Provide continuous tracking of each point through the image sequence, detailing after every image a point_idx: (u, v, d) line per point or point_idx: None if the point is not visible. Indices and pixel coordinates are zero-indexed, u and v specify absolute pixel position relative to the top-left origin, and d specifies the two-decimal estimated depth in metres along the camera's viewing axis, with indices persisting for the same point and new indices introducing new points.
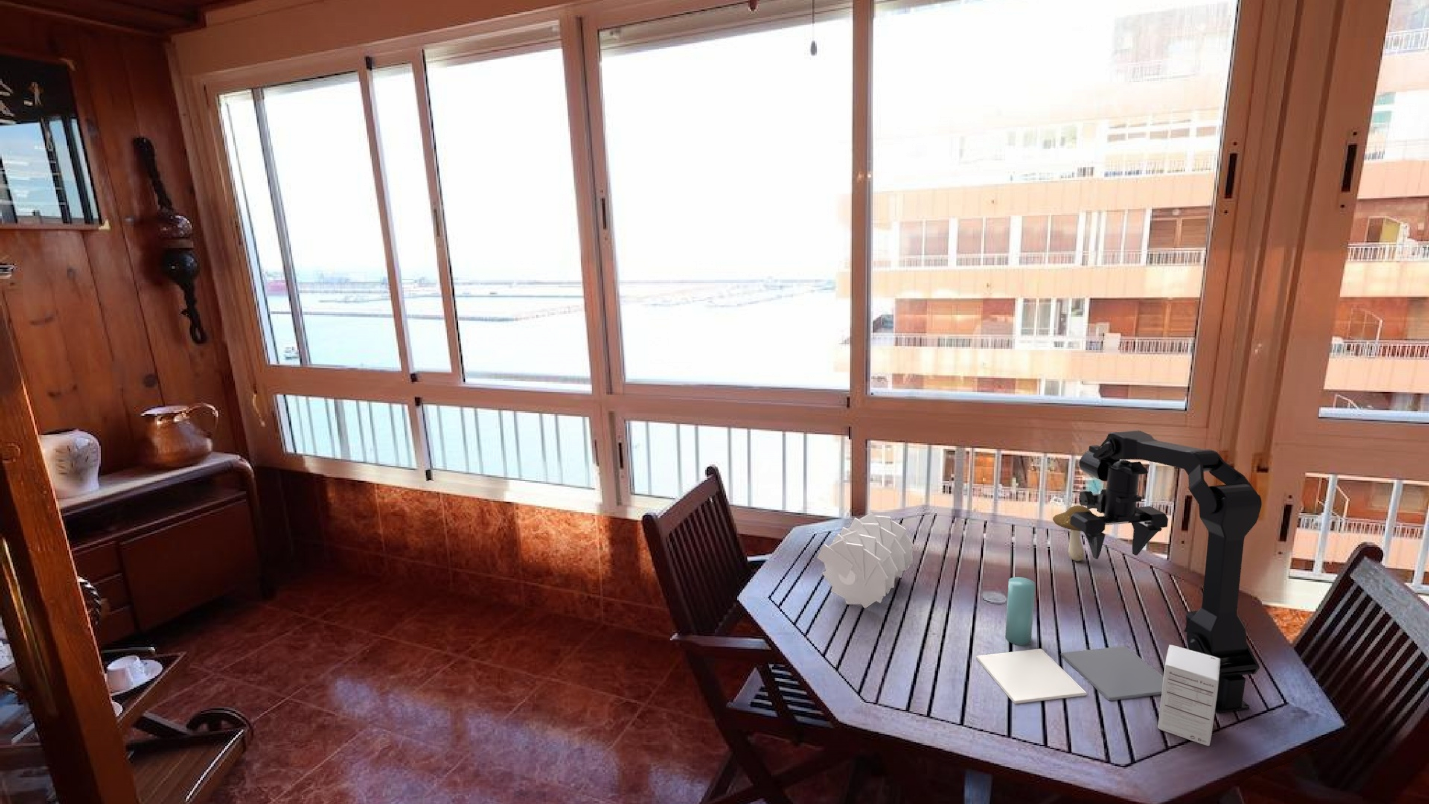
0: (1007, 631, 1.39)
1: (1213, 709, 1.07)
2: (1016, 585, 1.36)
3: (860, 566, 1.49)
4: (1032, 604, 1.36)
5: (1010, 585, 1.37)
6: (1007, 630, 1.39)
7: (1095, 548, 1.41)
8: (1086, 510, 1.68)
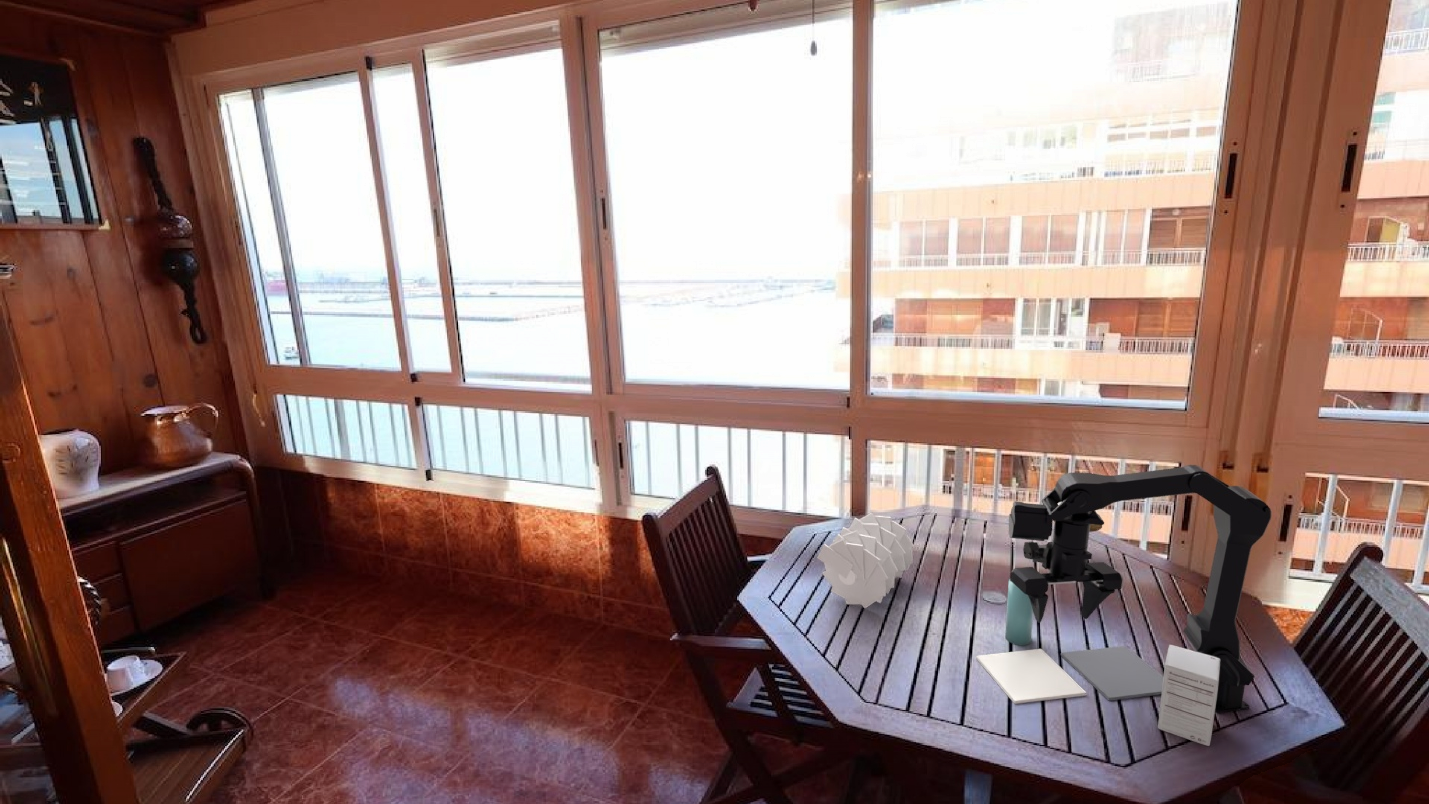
0: (1007, 631, 1.39)
1: (1213, 709, 1.07)
2: None
3: (860, 566, 1.49)
4: None
5: (1010, 585, 1.37)
6: (1007, 630, 1.39)
7: (1037, 610, 1.21)
8: None
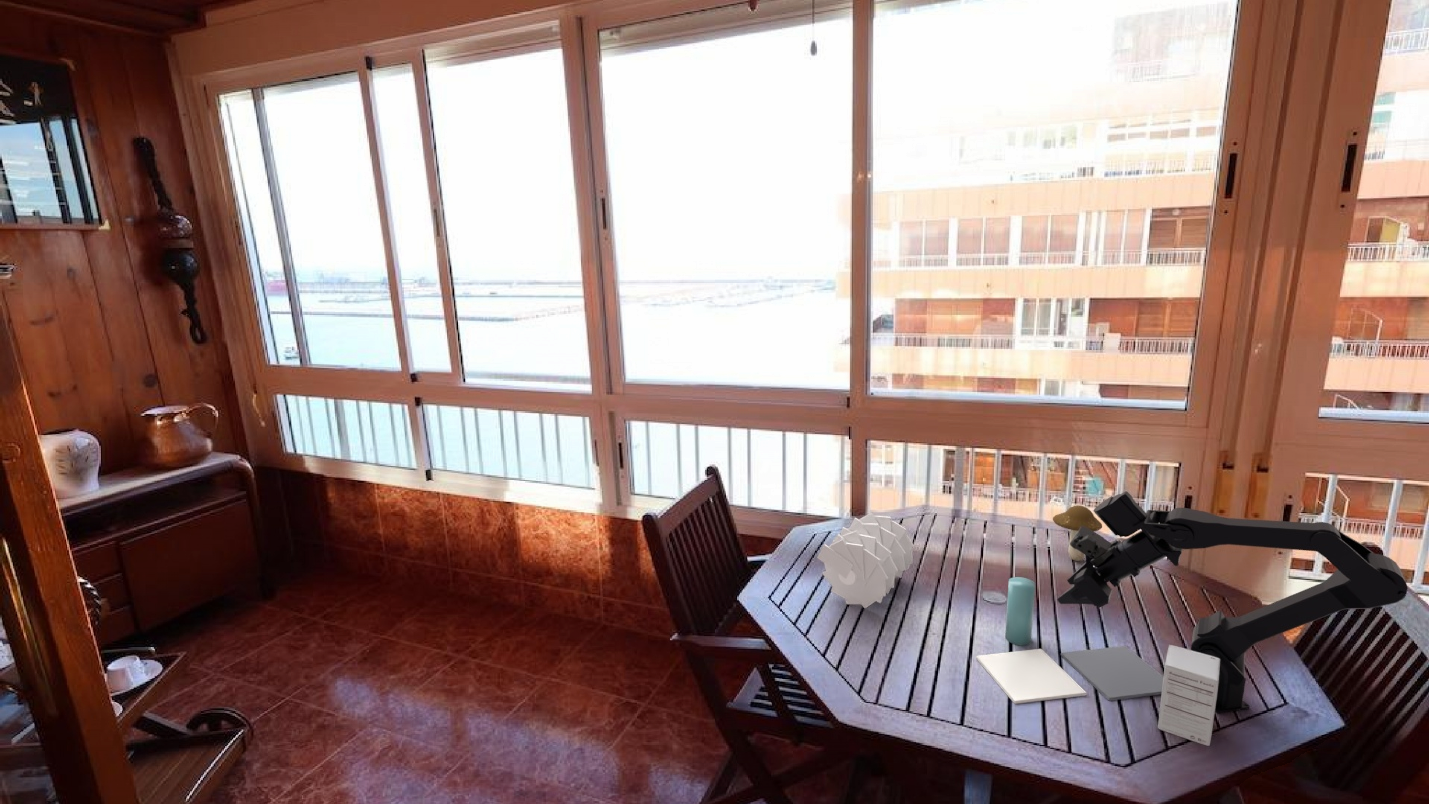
0: (1007, 631, 1.39)
1: (1213, 709, 1.07)
2: (1016, 585, 1.36)
3: (860, 566, 1.49)
4: (1032, 604, 1.36)
5: (1010, 585, 1.37)
6: (1007, 630, 1.39)
7: (1074, 601, 1.26)
8: (1086, 510, 1.68)
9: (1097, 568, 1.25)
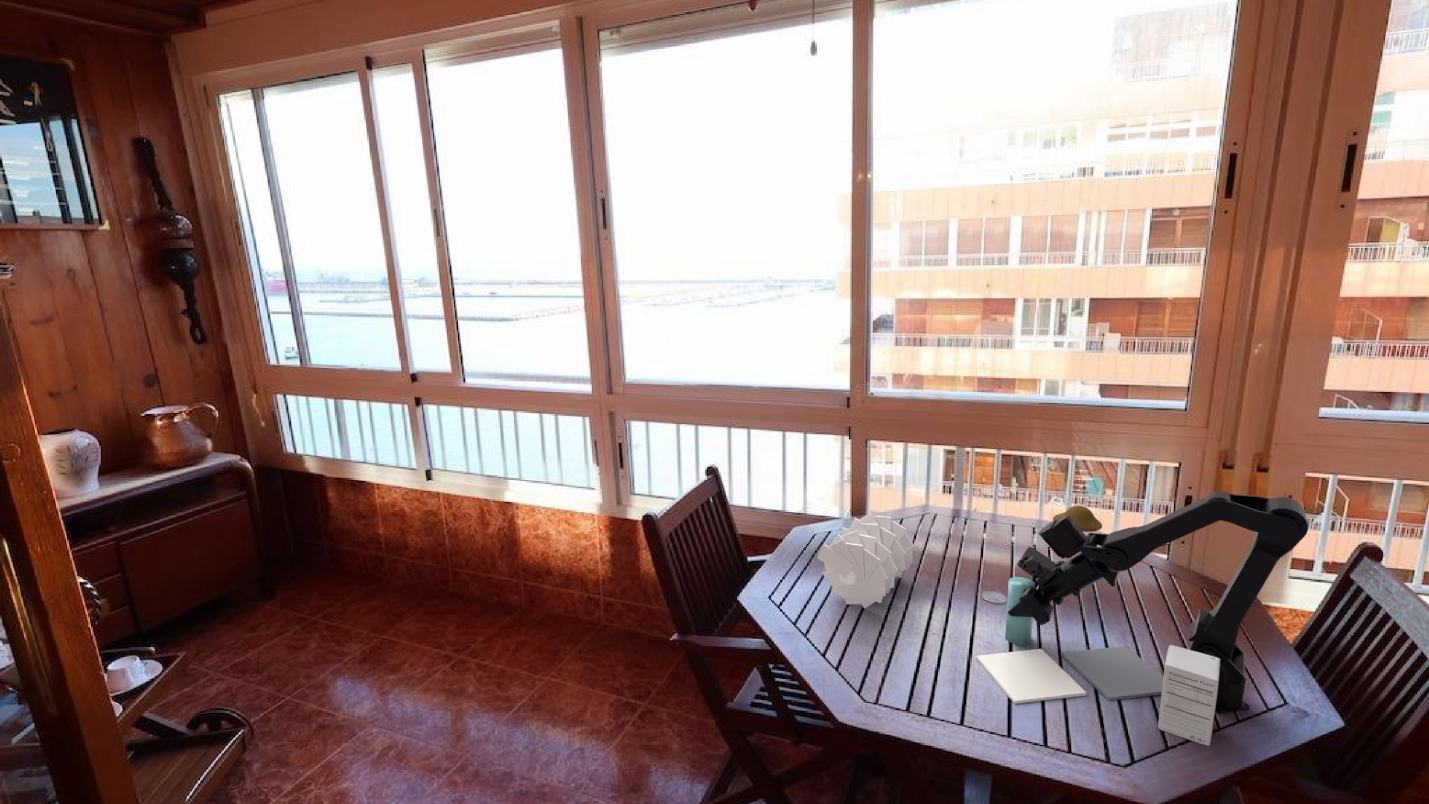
0: (1007, 631, 1.39)
1: (1213, 709, 1.07)
2: (1016, 585, 1.36)
3: (860, 566, 1.49)
4: None
5: (1010, 585, 1.37)
6: (1007, 630, 1.39)
7: (1023, 614, 1.34)
8: (1086, 510, 1.68)
9: (1041, 587, 1.32)
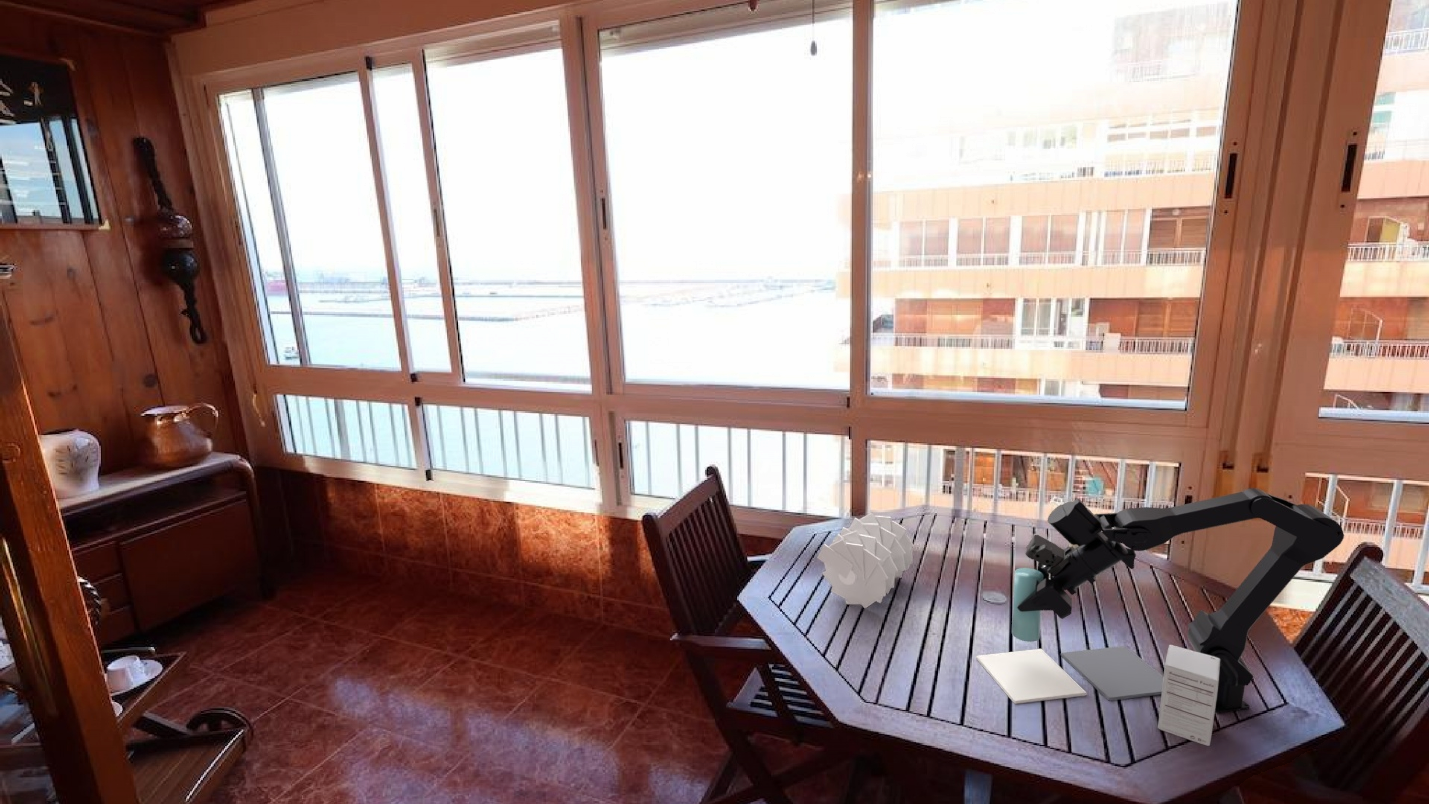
0: (1015, 627, 1.29)
1: (1213, 709, 1.07)
2: (1024, 577, 1.25)
3: (860, 566, 1.49)
4: None
5: (1018, 577, 1.26)
6: (1015, 626, 1.29)
7: (1035, 608, 1.24)
8: None
9: (1054, 577, 1.22)
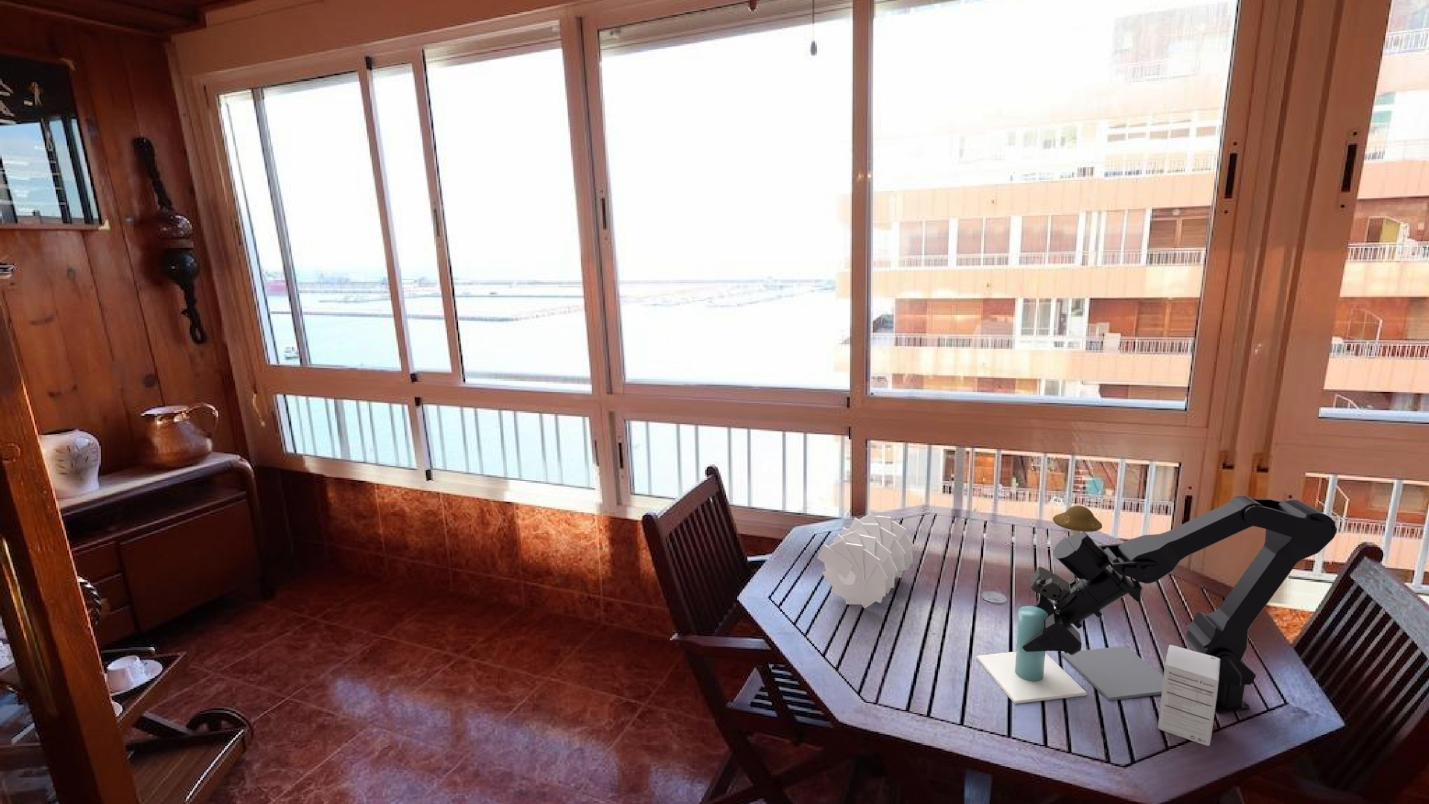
0: (1019, 667, 1.26)
1: (1213, 709, 1.07)
2: (1029, 617, 1.23)
3: (860, 566, 1.49)
4: None
5: (1023, 617, 1.24)
6: (1019, 666, 1.26)
7: (1041, 649, 1.20)
8: (1086, 510, 1.68)
9: (1060, 611, 1.20)
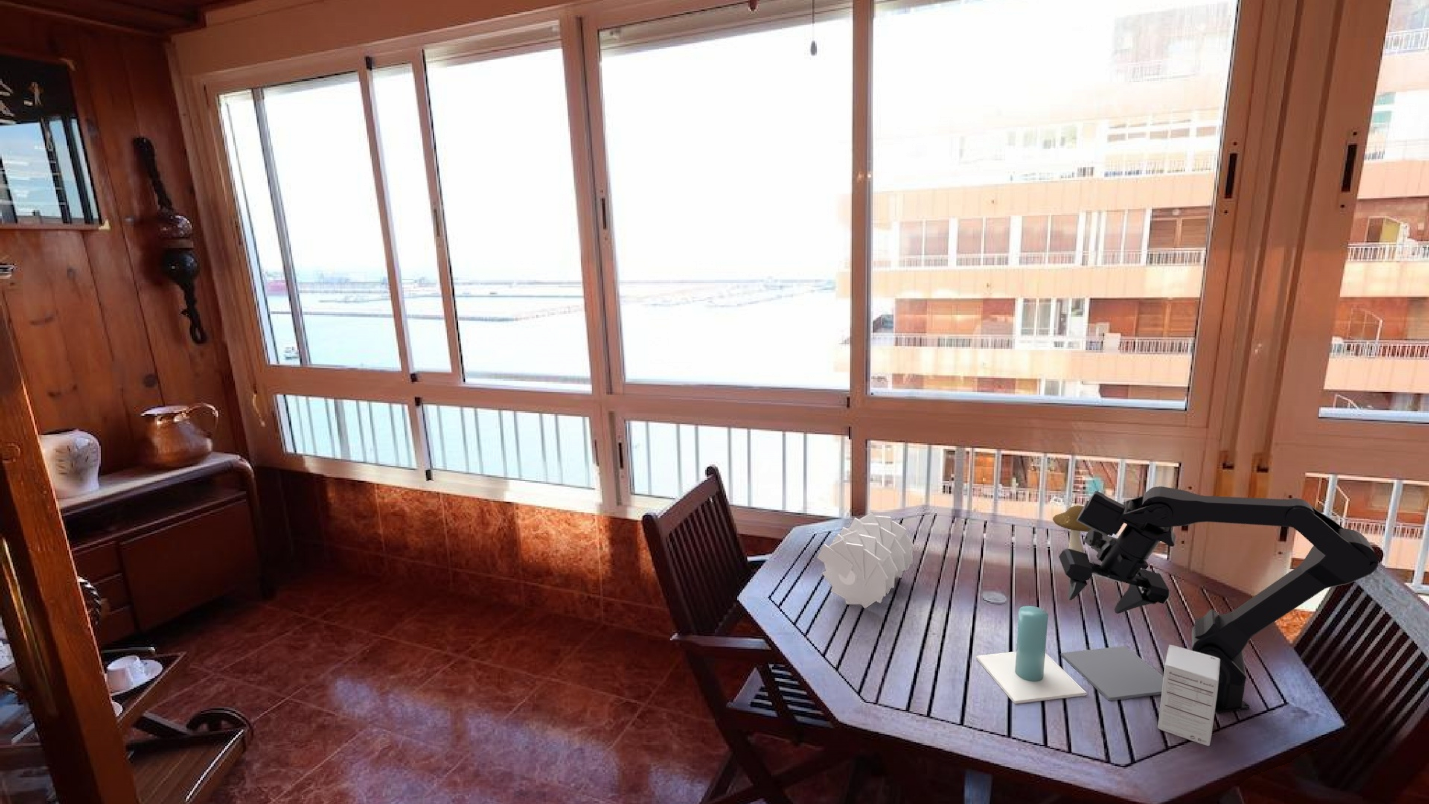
0: (1019, 667, 1.26)
1: (1213, 709, 1.07)
2: (1029, 617, 1.23)
3: (860, 566, 1.49)
4: (1046, 635, 1.24)
5: (1023, 617, 1.24)
6: (1019, 666, 1.26)
7: (1072, 590, 1.28)
8: None
9: (1101, 562, 1.27)
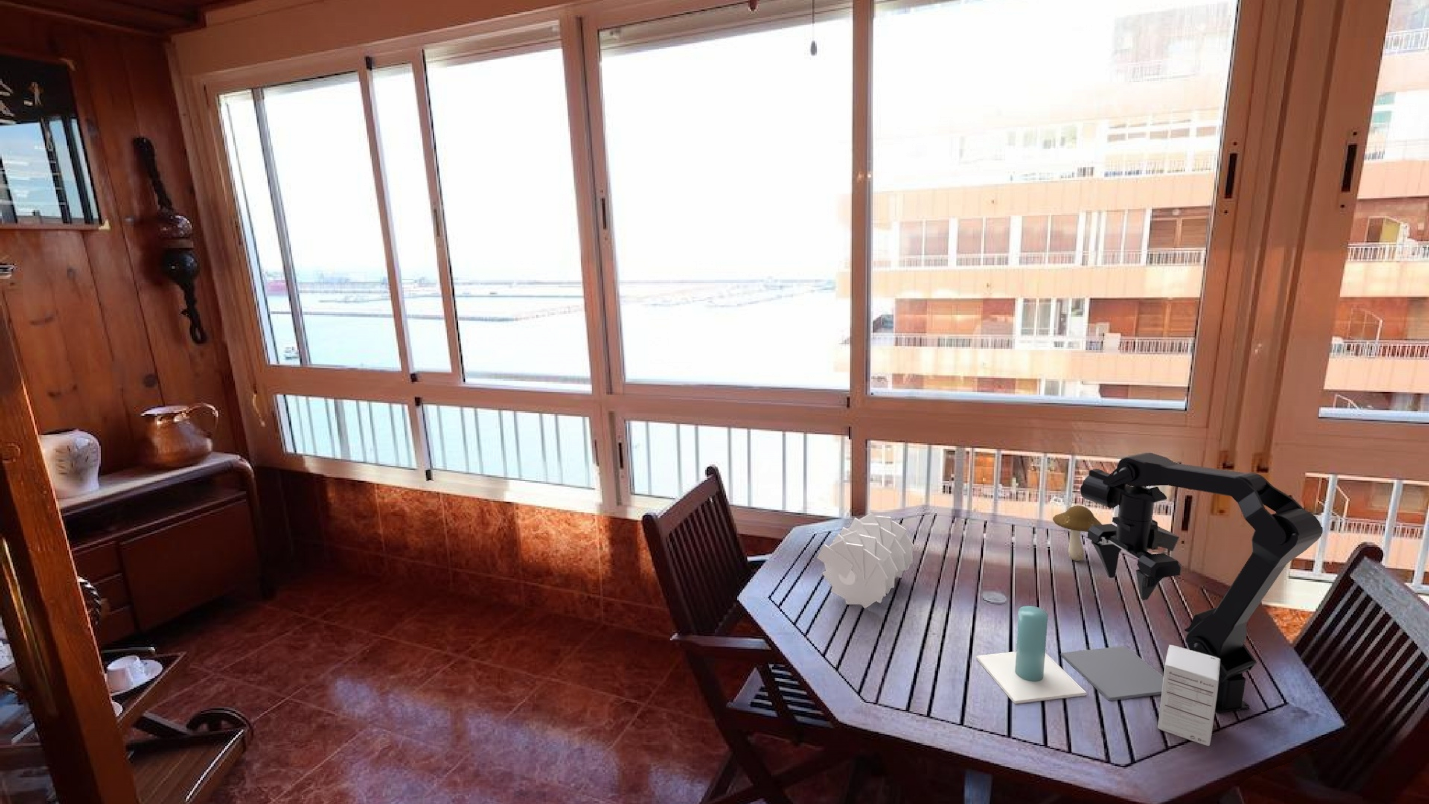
0: (1019, 667, 1.26)
1: (1213, 709, 1.07)
2: (1029, 617, 1.23)
3: (860, 566, 1.49)
4: (1046, 635, 1.24)
5: (1023, 617, 1.24)
6: (1019, 666, 1.26)
7: None
8: (1086, 510, 1.68)
9: None
